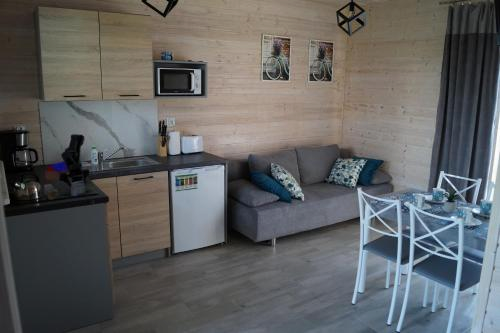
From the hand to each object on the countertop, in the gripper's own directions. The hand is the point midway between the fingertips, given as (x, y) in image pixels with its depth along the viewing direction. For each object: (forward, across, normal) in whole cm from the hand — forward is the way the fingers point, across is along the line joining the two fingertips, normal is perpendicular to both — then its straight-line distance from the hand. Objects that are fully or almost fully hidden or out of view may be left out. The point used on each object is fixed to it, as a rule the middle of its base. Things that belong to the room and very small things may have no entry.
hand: (78, 185), depth 269 cm
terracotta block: (-6, -14, +16) cm, 22 cm away
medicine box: (+4, 0, +6) cm, 7 cm away
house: (-40, +7, +50) cm, 64 cm away
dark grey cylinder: (-2, -15, +11) cm, 19 cm away
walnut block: (+3, -15, +6) cm, 17 cm away
